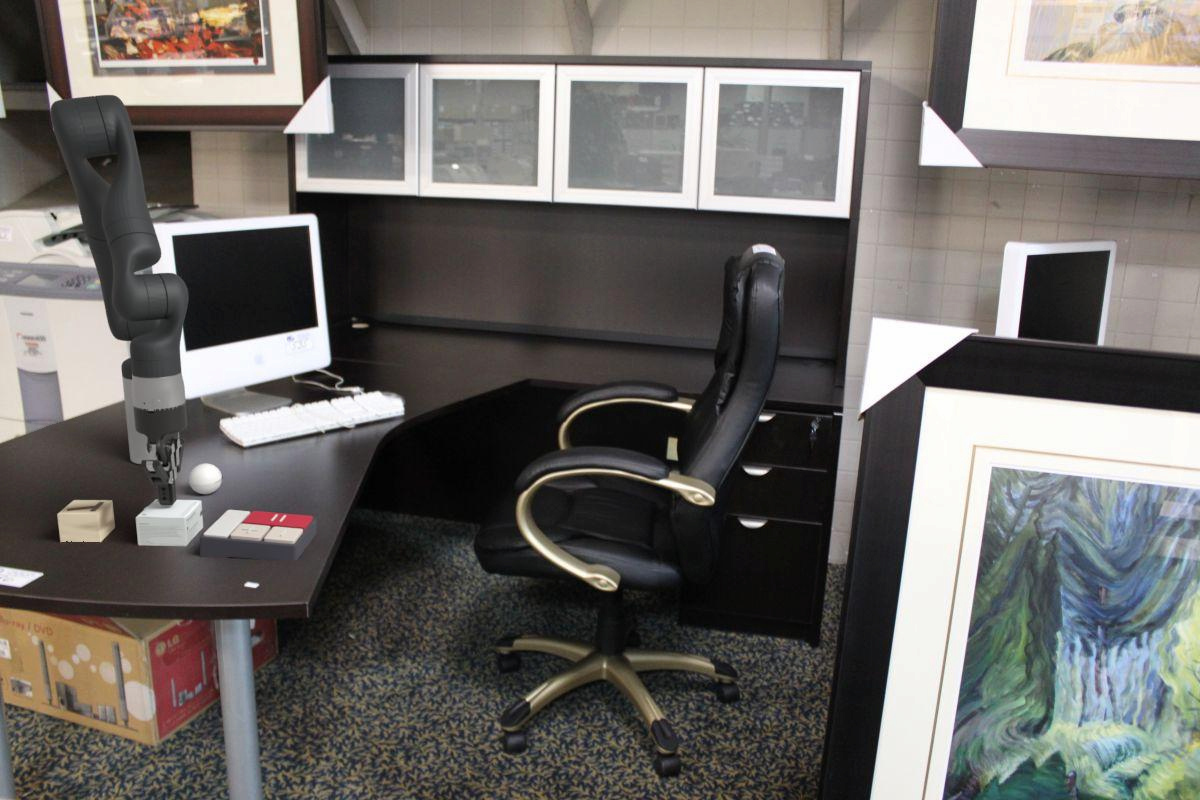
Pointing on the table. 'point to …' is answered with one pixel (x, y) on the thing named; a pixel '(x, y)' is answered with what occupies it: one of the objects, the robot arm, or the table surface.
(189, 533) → the small box
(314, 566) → the table surface
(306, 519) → the calculator
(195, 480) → the white ball
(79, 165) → the robot arm
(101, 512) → the numbered block
